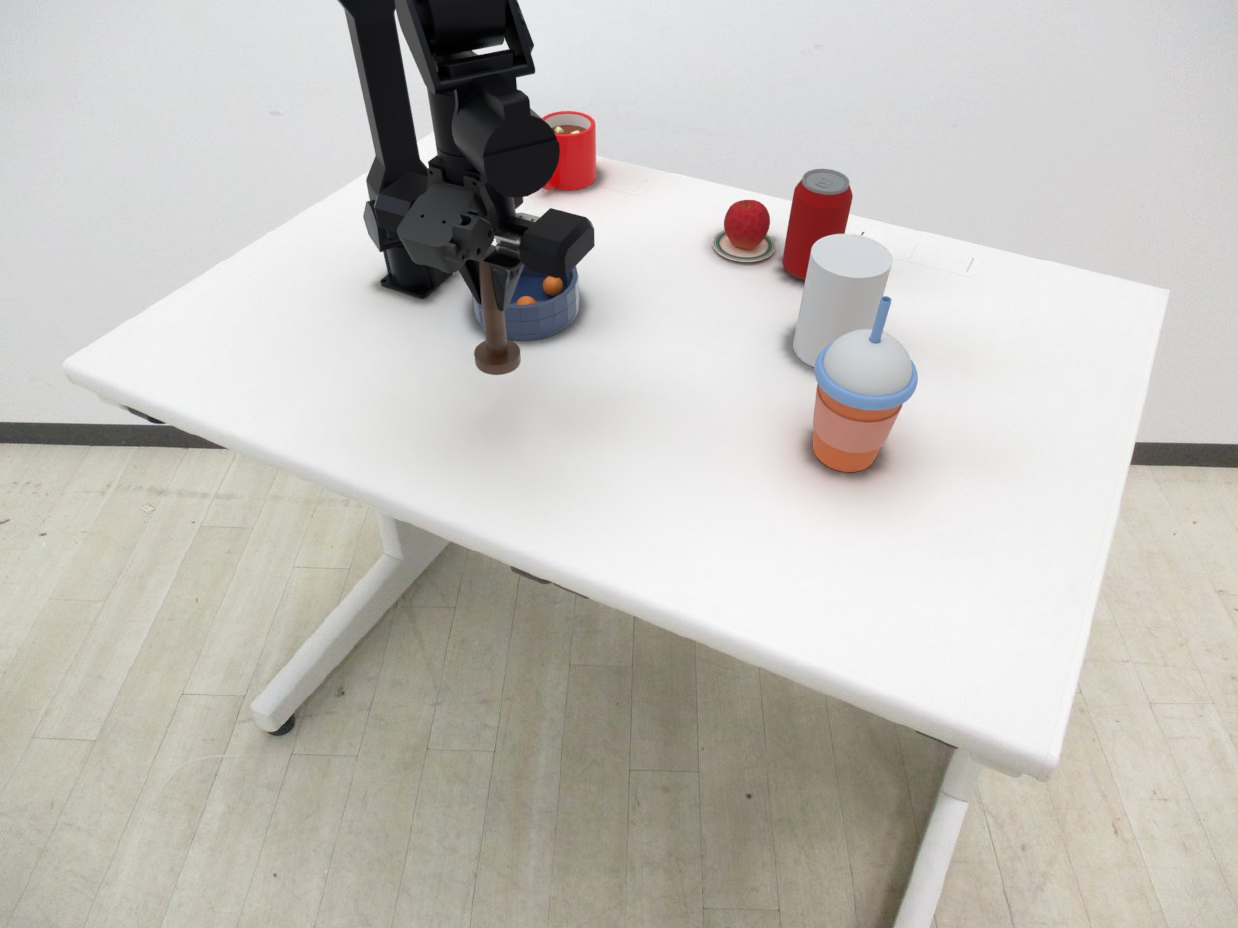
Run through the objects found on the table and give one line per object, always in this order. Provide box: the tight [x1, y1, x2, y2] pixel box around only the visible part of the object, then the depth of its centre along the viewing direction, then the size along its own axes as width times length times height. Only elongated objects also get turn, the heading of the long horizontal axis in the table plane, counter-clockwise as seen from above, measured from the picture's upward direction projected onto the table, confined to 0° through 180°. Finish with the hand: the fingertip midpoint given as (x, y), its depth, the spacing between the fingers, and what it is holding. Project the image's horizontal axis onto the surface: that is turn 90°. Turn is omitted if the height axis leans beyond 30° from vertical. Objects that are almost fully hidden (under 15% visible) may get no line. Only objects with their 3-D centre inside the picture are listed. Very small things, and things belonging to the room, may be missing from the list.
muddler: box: [473, 244, 522, 376], centre depth 78 cm, size 4×4×12 cm
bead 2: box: [543, 276, 563, 296], centre depth 99 cm, size 2×2×2 cm
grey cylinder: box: [792, 233, 893, 368], centre depth 90 cm, size 8×8×12 cm
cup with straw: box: [812, 295, 919, 473], centre depth 77 cm, size 9×9×18 cm
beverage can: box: [782, 168, 853, 281], centre depth 101 cm, size 7×7×12 cm
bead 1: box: [516, 296, 537, 305], centre depth 96 cm, size 2×2×2 cm
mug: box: [541, 110, 597, 191], centre depth 117 cm, size 8×12×8 cm, turn 155°
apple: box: [712, 199, 776, 263], centre depth 106 cm, size 8×8×6 cm
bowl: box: [471, 265, 580, 341], centre depth 98 cm, size 12×12×4 cm
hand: (493, 305), depth 78 cm, fingers closed on muddler, 2 cm apart
